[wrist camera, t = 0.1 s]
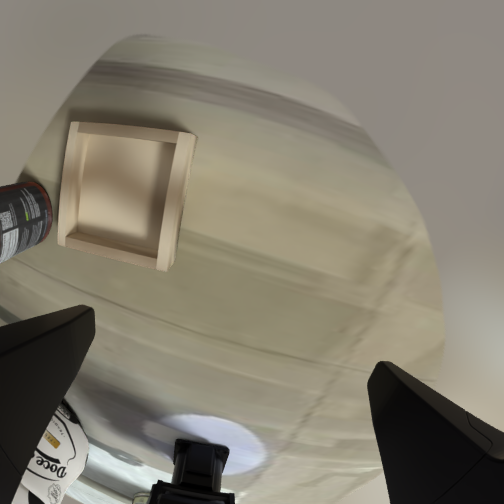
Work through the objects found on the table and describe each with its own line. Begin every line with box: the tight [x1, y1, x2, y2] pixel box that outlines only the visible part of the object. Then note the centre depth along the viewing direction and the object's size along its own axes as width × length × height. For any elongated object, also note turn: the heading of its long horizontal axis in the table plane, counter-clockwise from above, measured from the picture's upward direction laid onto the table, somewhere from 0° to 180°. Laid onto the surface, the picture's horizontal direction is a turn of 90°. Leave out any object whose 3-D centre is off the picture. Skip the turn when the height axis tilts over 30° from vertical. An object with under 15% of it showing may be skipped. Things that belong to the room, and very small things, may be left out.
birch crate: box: [58, 121, 198, 272], centre depth 20 cm, size 10×10×2 cm
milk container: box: [12, 403, 89, 504], centre depth 20 cm, size 17×17×18 cm
